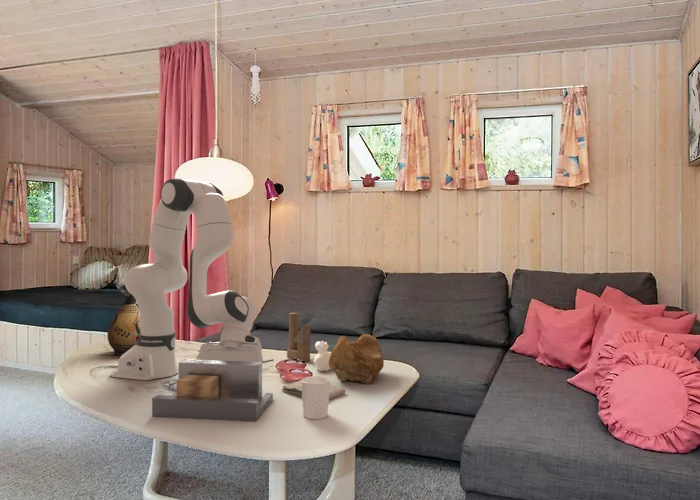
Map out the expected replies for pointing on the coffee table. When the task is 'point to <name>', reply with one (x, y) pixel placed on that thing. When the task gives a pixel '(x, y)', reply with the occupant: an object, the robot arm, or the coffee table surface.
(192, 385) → the oak block
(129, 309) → the ceramic jug
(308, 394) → the white cup
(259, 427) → the coffee table surface
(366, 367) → the rough brown rock
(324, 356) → the bust
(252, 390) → the block
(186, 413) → the base
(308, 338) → the wooden block
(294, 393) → the washcloth
